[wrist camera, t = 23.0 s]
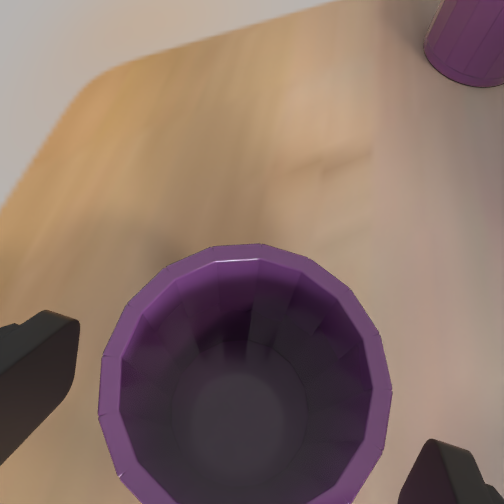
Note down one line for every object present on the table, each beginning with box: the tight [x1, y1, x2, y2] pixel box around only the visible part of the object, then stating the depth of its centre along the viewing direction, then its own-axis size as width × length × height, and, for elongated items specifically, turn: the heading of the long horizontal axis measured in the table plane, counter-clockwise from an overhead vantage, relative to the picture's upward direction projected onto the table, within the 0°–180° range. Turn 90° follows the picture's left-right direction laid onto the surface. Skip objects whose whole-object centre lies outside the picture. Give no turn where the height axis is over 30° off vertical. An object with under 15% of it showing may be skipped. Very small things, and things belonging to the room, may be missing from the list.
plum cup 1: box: [98, 244, 393, 504], centre depth 12 cm, size 6×6×8 cm
